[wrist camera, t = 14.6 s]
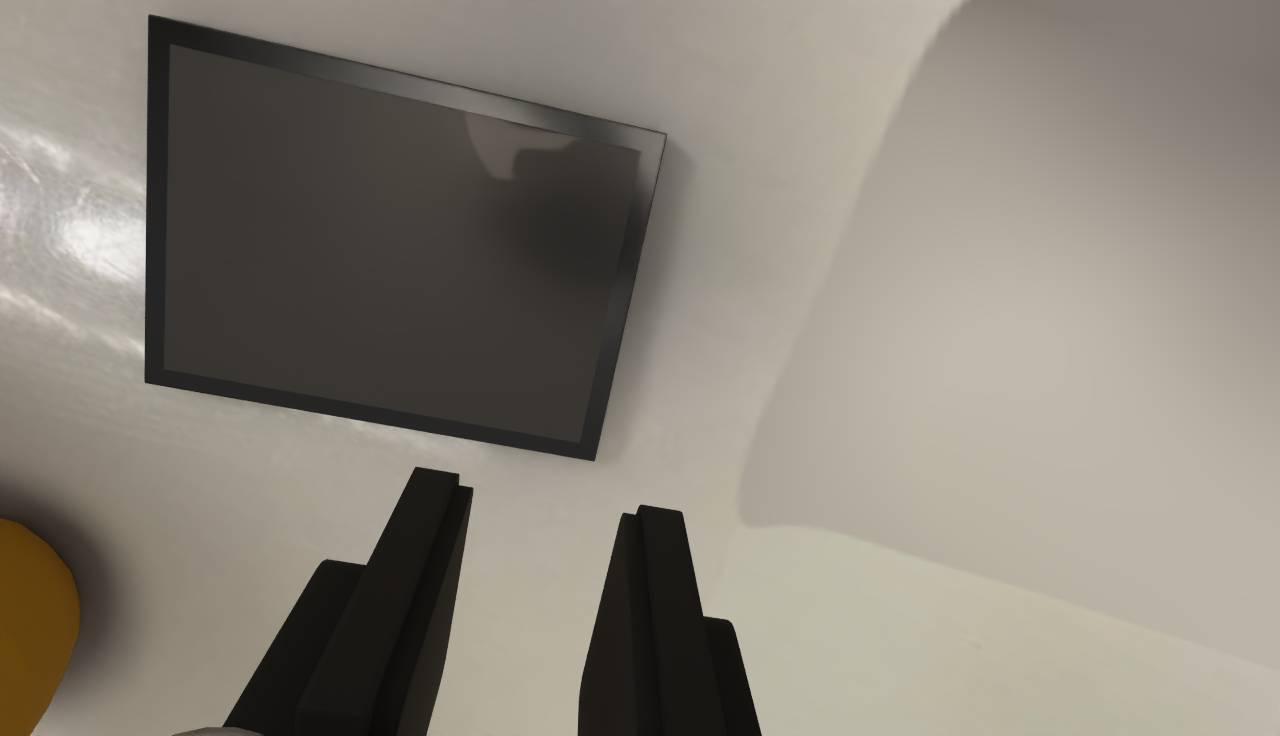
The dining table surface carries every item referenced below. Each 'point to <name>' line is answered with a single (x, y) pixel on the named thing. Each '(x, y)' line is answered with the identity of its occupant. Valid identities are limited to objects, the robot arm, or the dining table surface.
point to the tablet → (386, 242)
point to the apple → (32, 626)
